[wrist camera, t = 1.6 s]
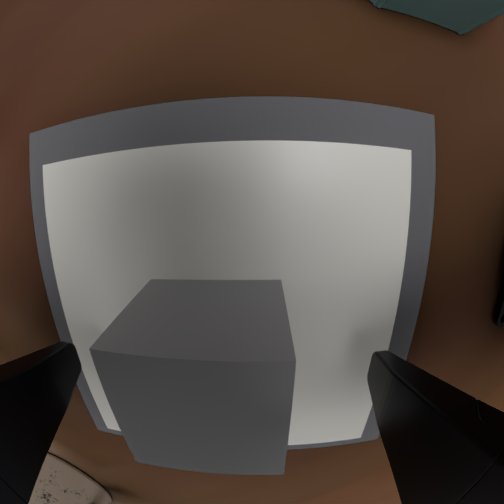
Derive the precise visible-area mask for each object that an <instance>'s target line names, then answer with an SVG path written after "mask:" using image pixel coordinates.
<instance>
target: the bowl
mask: <svg viewBox="0 0 504 504" xmlns="http://www.w3.org/2000/svg"><path fill="white" fill-rule="evenodd" d="M370 1H371V2H372V3H373V5H374V6H376V7H378V8H379V9H380V8H385V9H389V10H393V11H396V12H400V13H404V14H407V15H410V16H414V17H417V18H420V19H423V20H426V21H429V22H432V23H434V24H437V25H440V26H442V27H445V28H448V29H450V30H453V31H455V32H457V33H458V34H459V35H460V34H462V35H463V34H465V33H467V32H469V31H471V30H472V29H474V28H476V27H478V26H480V25H482V24H484V23H486V22H488V21H490V20H492V19H494V18H496V17H498V16H500V15H502V14H504V0H370Z"/></svg>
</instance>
